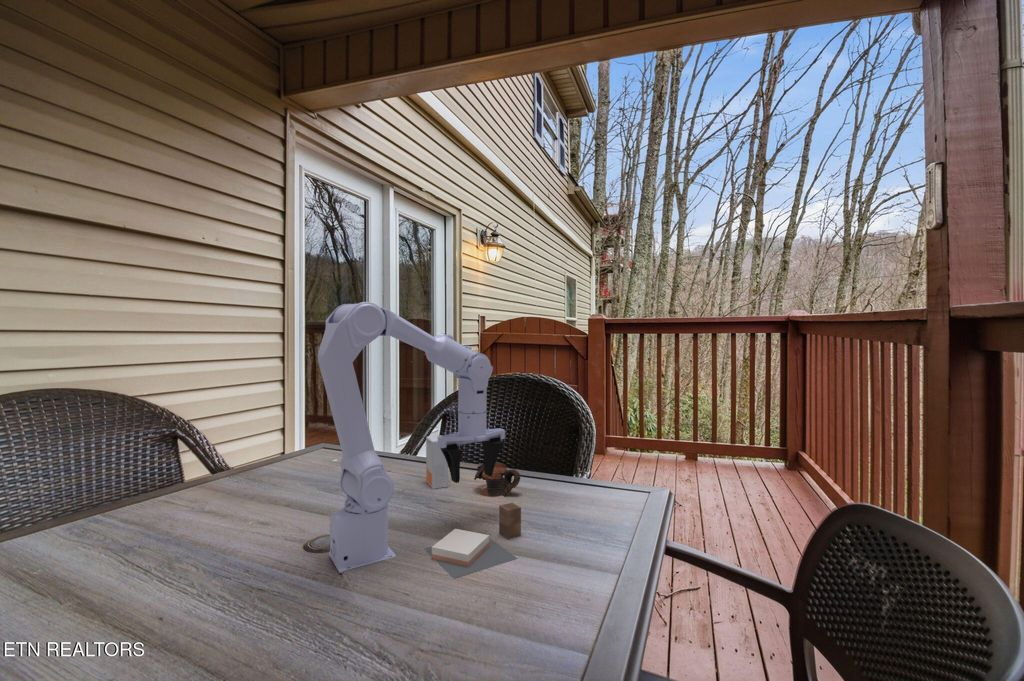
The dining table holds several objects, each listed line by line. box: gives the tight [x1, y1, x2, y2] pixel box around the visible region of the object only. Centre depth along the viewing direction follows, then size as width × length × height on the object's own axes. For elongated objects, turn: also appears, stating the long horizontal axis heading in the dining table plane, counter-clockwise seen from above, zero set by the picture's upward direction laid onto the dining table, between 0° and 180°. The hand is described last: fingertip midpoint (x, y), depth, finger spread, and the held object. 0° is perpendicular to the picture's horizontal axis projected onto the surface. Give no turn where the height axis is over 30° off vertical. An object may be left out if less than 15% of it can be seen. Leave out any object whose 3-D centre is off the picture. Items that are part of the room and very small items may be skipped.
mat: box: [424, 532, 518, 580], centre depth 82 cm, size 12×12×1 cm
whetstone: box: [431, 528, 490, 567], centre depth 82 cm, size 8×2×7 cm
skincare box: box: [425, 434, 449, 490], centre depth 120 cm, size 6×4×12 cm
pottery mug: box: [473, 462, 521, 498], centre depth 115 cm, size 12×10×8 cm
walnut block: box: [498, 502, 522, 540], centre depth 90 cm, size 3×3×6 cm
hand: (472, 478), depth 96 cm, fingers open, 7 cm apart
